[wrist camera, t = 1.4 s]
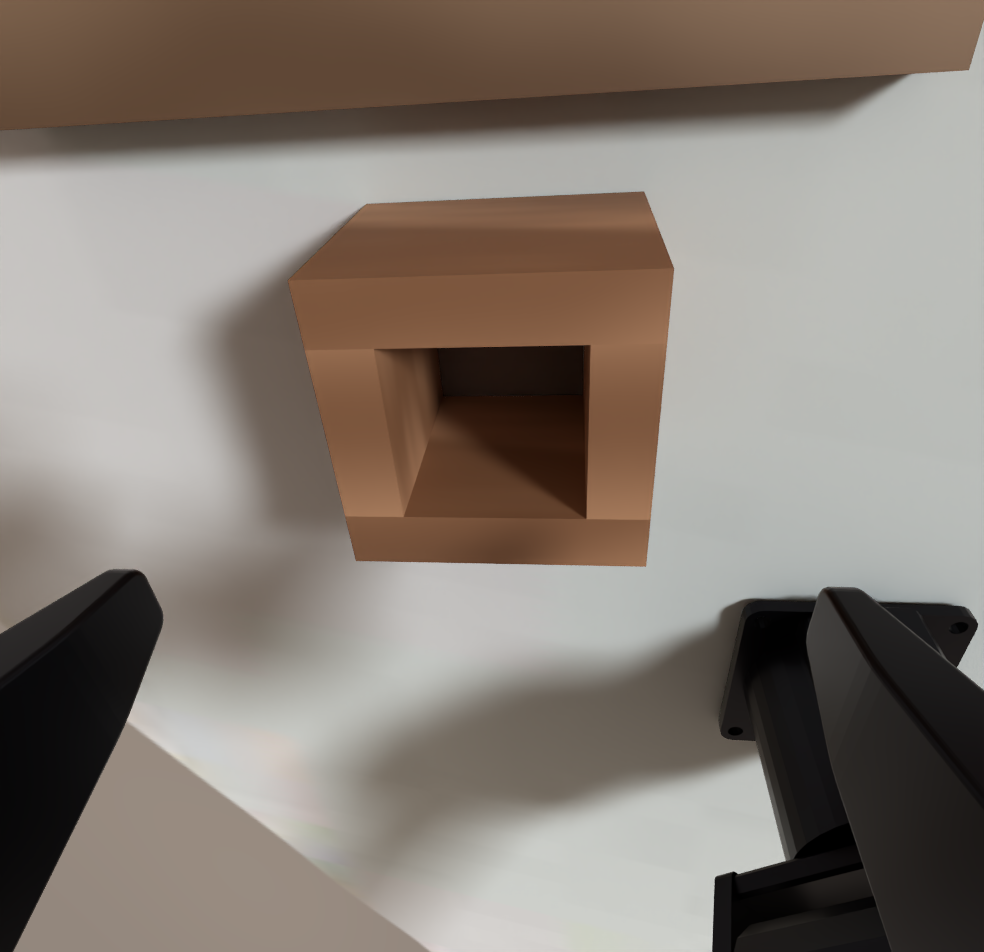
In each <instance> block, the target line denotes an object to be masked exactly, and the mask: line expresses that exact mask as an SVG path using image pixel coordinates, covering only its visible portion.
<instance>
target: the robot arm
mask: <svg viewBox="0 0 984 952" xmlns="http://www.w3.org/2000/svg"><path fill="white" fill-rule="evenodd" d="M763 616H764V617H763ZM758 617H763V618H758ZM162 625H163V612H162V609H161V607H160V605H159V603H158V601H157V598H156V596H155V594H154V592H153V590H152V588H151V586H150V584H149V582H148V580H147V578H146V577H145V575H144V574H143V573H142V572H140V571H138V570H128V569H113V570H108V571H106V572H104V573H102V574H101V575H99V576H97V577H96V578H94V579H92V580H91V581H89V582H87V583H85V584H84V585H82V586H80V587H79V588H77V589H75V590H74V591H72V592H70V593H69V594H67V595H65V596H64V597H62V598H60V599H58V600H57V601H55V602H53V603H52V604H50V605H48V606H47V607H45V608H43V609H42V610H40V611H38V612H36V613H35V614H33V615H31V616H30V617H28V618H26V619H25V620H23V621H21V622H20V623H18V624H16V625H15V626H13V627H11V628H9V629H8V630H6V631H4V632H3V633H1V634H0V952H13V951H14V949H15V947H16V945H17V943H18V941H19V939H20V937H21V935H22V933H23V931H24V929H25V927H26V925H27V923H28V921H29V919H30V917H31V915H32V913H33V911H34V909H35V907H36V905H37V903H38V901H39V899H40V897H41V895H42V893H43V890H44V889H45V887H46V885H47V883H48V881H49V879H50V876H51V875H52V872H53V870H54V868H55V866H56V864H57V862H58V860H59V858H60V856H61V854H62V852H63V850H64V848H65V846H66V844H67V842H68V840H69V838H70V836H71V834H72V832H73V830H74V828H75V826H76V824H77V822H78V820H79V818H80V816H81V814H82V812H83V810H84V808H85V806H86V804H87V802H88V800H89V798H90V796H91V794H92V792H93V790H94V788H95V786H96V783H97V782H98V780H99V778H100V775H101V773H102V771H103V770H104V768H105V765H106V763H107V761H108V759H109V757H110V755H111V753H112V751H113V749H114V747H115V745H116V743H117V741H118V739H119V737H120V735H121V732H122V730H123V728H124V726H125V723H126V721H127V718H128V716H129V714H130V711H131V709H132V706H133V703H134V701H135V698H136V695H137V693H138V690H139V687H140V685H141V682H142V679H143V677H144V674H145V671H146V669H147V666H148V663H149V661H150V658H151V656H152V653H153V650H154V648H155V645H156V642H157V640H158V637H159V634H160V632H161V629H162ZM977 627H978V623H977V621H976V619H975V618H974V616H973V615H972V613H971V612H970V610H969V609H967V608H966V607H962V606H943V605H904V604H878V603H877V602H876V601H875V600H874V599H872V598H871V597H870V596H869V595H867V594H866V593H865V592H864V591H862V590H860V589H858V588H854V587H826V588H824V589H822V590H821V592H820V593H819V595H818V598H817V602H784V601H757V602H753V603H750V604H748V605H747V606H746V607H745V608H744V610H743V612H742V615H741V620H740V625H739V629H738V634H737V638H736V643H735V647H734V652H733V657H732V661H731V666H730V670H729V675H728V679H727V684H726V689H725V693H724V698H723V702H722V707H721V711H720V716H719V727H720V732H721V735H722V736H723V737H725V738H727V739H732V740H748V741H756V744H757V748H758V752H759V756H760V760H761V764H762V768H763V772H764V776H765V780H766V784H767V788H768V792H769V796H770V800H771V804H772V808H773V812H774V816H775V820H776V824H777V828H778V832H779V836H780V840H781V844H782V848H783V852H784V856H785V860H786V861H784V862H781V863H777V864H774V865H770V866H766V867H763V868H759V869H755V870H752V871H748V872H744V873H741V874H737V873H736V872H734V871H733V872H730V873H726V874H723V875H719V876H716V877H715V889H714V918H713V946H712V952H984V690H983V689H982V688H981V687H979V686H978V685H977V684H976V683H975V682H973V681H972V680H971V679H970V678H968V677H967V676H966V675H965V674H964V673H962V672H961V671H960V670H959V669H958V668H957V666H958V665H959V663H960V661H961V659H962V657H963V655H964V653H965V651H966V649H967V647H968V645H969V643H970V641H971V639H972V638H973V636H974V634H975V632H976V630H977Z"/></svg>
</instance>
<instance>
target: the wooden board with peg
mask: <svg viewBox="0 0 984 952" xmlns="http://www.w3.org/2000/svg"><path fill="white" fill-rule="evenodd" d="M983 21H984V0H0V130H13V129H30V128H46V127H62V126H78V125H94V124H110V123H126V122H142V121H158V120H174V119H190V118H206V117H222V116H238V115H255V114H271V113H287V112H303V111H319V110H335V109H351V108H367V107H383V106H399V105H415V104H431V103H447V102H464V101H480V100H496V99H512V98H528V97H544V96H560V95H576V94H592V93H608V92H624V91H640V90H656V89H672V88H689V87H705V86H721V85H737V84H753V83H769V82H785V81H801V80H817V79H833V78H849V77H865V76H881V75H898V74H914V73H930V72H946V71H962V70H969V68H970V64H971V61H972V58H973V54H974V51H975V47H976V44H977V41H978V37H979V34H980V31H981V27H982V24H983Z"/></svg>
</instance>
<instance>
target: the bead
mask: <svg viewBox="0 0 984 952" xmlns="http://www.w3.org/2000/svg"><path fill="white" fill-rule="evenodd" d="M673 274H674V267H673V264H672V262H671V259H670V257H669V254H668V252H667V249H666V247H665V244H664V241H663V239H662V236H661V234H660V231H659V229H658V226H657V223H656V221H655V218H654V216H653V213H652V211H651V208H650V205H649V203H648V200H647V198H646V195H645V193H644V192H625V193H603V194H580V195H558V196H536V197H513V198H491V199H469V200H446V201H424V202H402V203H379V204H366V205H365V206H364V207H363V208H362V209H361V210H360V211H359V212H358V213H357V214H356V215H355V216H354V217H353V218H352V219H351V220H350V221H349V222H348V223H347V224H345V225H344V226H343V227H342V228H341V229H340V230H339V231H338V232H337V233H336V234H335V235H334V236H333V237H332V238H331V239H330V240H329V241H328V242H327V243H326V244H325V245H324V246H323V247H322V248H321V249H320V250H319V251H318V252H317V253H316V254H315V255H314V256H312V257H311V258H310V259H309V260H308V261H307V262H306V263H305V264H304V265H303V266H302V267H301V268H300V269H299V270H298V271H297V272H296V273H295V274H294V275H293V276H292V277H291V278H290V279H289V280H288V284H289V288H290V292H291V296H292V300H293V304H294V308H295V313H296V317H297V321H298V325H299V329H300V333H301V337H302V341H303V345H304V349H305V354H306V358H307V362H308V366H309V370H310V374H311V378H312V382H313V386H314V391H315V395H316V399H317V403H318V407H319V411H320V415H321V419H322V423H323V427H324V432H325V436H326V440H327V444H328V448H329V452H330V456H331V460H332V464H333V468H334V473H335V477H336V481H337V485H338V489H339V493H340V497H341V501H342V505H343V510H344V514H345V518H346V522H347V526H348V530H349V534H350V538H351V542H352V546H353V551H354V555H355V559H356V561H391V562H442V563H493V564H544V565H594V566H645V567H646V561H647V550H648V539H649V529H650V518H651V508H652V497H653V486H654V476H655V465H656V454H657V444H658V433H659V423H660V412H661V401H662V391H663V380H664V370H665V359H666V348H667V338H668V327H669V317H670V306H671V295H672V285H673ZM564 345H584V364H583V395H537V396H443V391H442V382H441V374H440V366H439V357H438V349H437V348H457V347H510V346H564Z"/></svg>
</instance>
